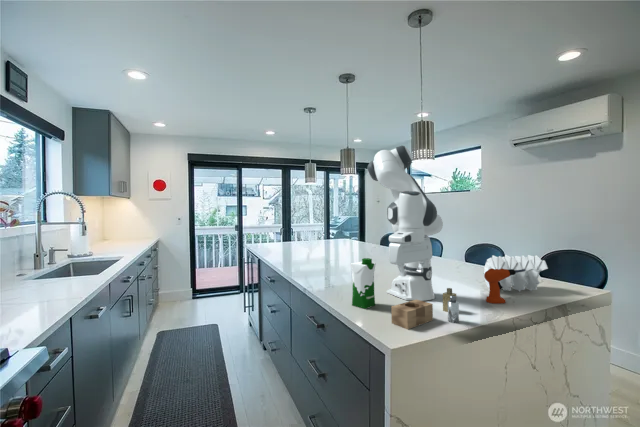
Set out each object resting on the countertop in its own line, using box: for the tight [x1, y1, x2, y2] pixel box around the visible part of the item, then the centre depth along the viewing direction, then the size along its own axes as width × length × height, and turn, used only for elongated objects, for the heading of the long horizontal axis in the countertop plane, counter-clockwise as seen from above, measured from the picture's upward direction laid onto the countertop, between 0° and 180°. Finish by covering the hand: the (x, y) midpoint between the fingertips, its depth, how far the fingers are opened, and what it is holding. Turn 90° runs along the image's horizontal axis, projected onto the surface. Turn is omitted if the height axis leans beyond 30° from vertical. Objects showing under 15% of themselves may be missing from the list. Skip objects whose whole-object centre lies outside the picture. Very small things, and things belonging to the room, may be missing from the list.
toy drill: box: [483, 268, 525, 304], centre depth 129 cm, size 5×19×15 cm, turn 93°
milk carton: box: [350, 257, 376, 310], centre depth 127 cm, size 9×9×20 cm
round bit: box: [447, 295, 460, 324], centre depth 107 cm, size 4×4×9 cm
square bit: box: [442, 287, 457, 313], centre depth 118 cm, size 4×4×9 cm
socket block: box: [390, 299, 434, 330], centre depth 107 cm, size 7×14×6 cm, turn 125°
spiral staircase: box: [483, 254, 549, 293], centre depth 146 cm, size 18×18×25 cm
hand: (411, 274), depth 107 cm, fingers open, 8 cm apart
